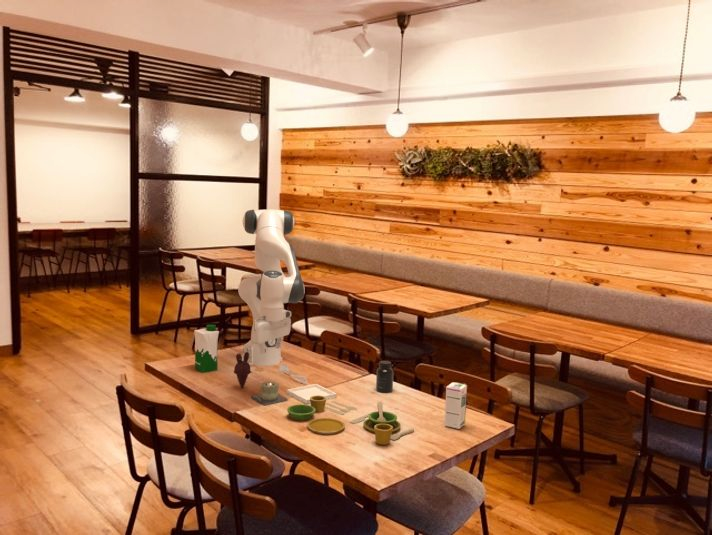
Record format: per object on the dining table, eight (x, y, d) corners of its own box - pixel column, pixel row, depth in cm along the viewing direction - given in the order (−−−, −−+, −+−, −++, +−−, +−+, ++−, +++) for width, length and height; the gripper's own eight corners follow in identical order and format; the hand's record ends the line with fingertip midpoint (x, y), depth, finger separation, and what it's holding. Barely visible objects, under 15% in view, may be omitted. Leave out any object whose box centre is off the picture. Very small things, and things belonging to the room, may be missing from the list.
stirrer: (311, 385, 249) (311, 374, 248) (304, 387, 246) (304, 375, 246) (283, 373, 263) (284, 362, 263) (277, 374, 261) (277, 363, 261)
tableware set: (419, 432, 205) (420, 414, 205) (366, 456, 185) (367, 437, 184) (332, 400, 233) (333, 385, 232) (277, 419, 212) (278, 401, 211)
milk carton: (220, 372, 260) (221, 326, 258) (201, 375, 254) (201, 329, 252) (210, 367, 267) (210, 322, 264) (191, 370, 261) (191, 325, 258)
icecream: (239, 393, 234) (240, 356, 233) (229, 388, 240) (230, 351, 238) (254, 389, 239) (255, 353, 237) (244, 385, 245) (244, 349, 243)
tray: (286, 394, 236) (286, 389, 236) (315, 388, 245) (316, 383, 245) (306, 404, 225) (306, 400, 225) (336, 398, 234) (336, 393, 234)
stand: (251, 398, 230) (251, 381, 229) (273, 393, 236) (274, 377, 235) (264, 406, 222) (264, 389, 221) (287, 401, 228) (288, 384, 228)
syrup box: (459, 429, 208) (462, 388, 206) (443, 425, 211) (446, 385, 209) (465, 424, 213) (467, 384, 211) (449, 420, 216) (451, 381, 214)
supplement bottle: (380, 386, 250) (382, 358, 249) (395, 390, 247) (397, 361, 245) (372, 391, 244) (374, 362, 243) (387, 394, 241) (389, 365, 239)
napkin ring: (258, 396, 229) (258, 383, 229) (272, 393, 233) (272, 381, 233) (266, 400, 225) (266, 388, 224) (280, 398, 229) (280, 385, 228)
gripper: (261, 320, 214) (260, 358, 216) (293, 311, 232) (292, 346, 234) (247, 317, 217) (246, 355, 219) (280, 309, 235) (279, 344, 237)
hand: (270, 350), depth 227 cm, fingers open, 8 cm apart
